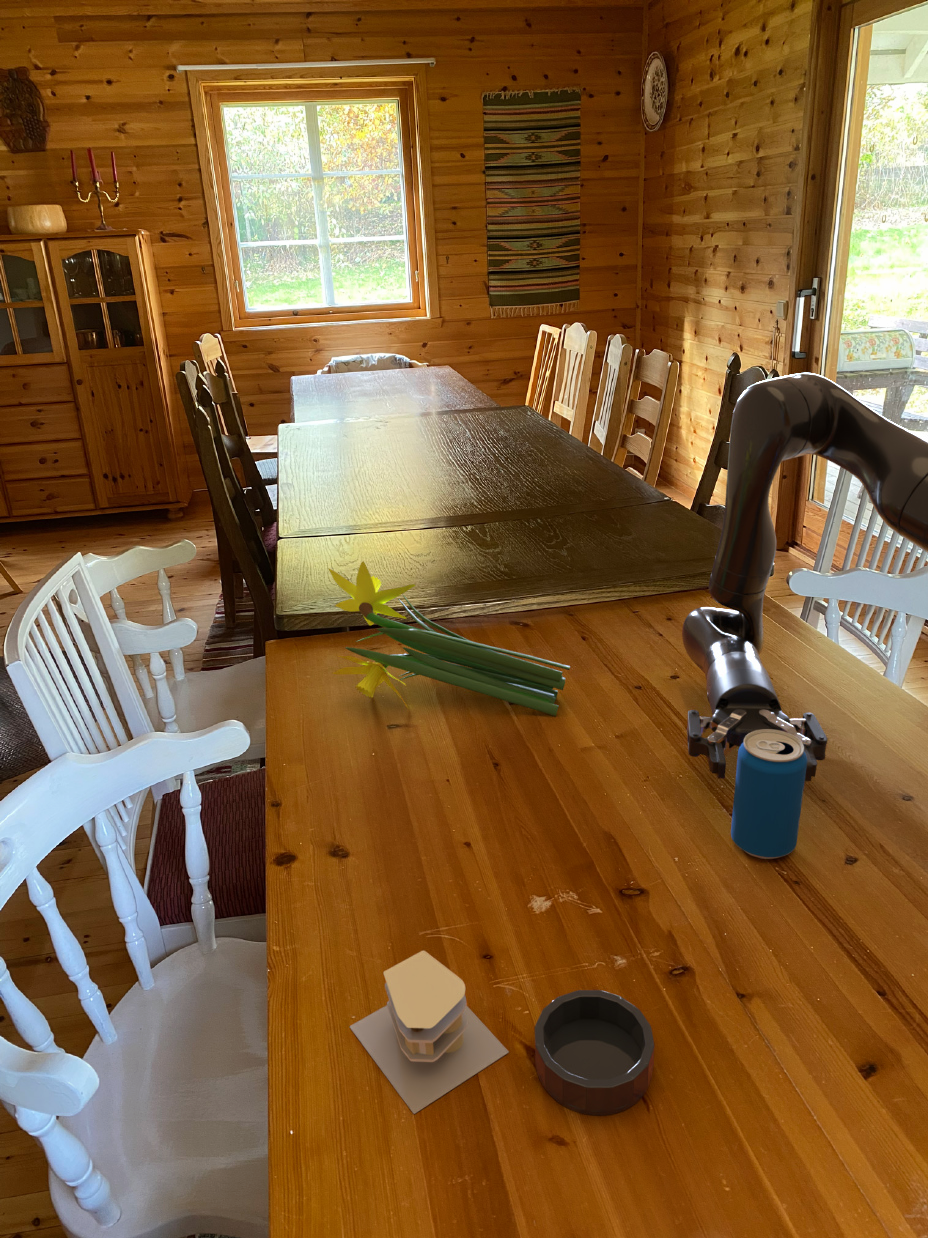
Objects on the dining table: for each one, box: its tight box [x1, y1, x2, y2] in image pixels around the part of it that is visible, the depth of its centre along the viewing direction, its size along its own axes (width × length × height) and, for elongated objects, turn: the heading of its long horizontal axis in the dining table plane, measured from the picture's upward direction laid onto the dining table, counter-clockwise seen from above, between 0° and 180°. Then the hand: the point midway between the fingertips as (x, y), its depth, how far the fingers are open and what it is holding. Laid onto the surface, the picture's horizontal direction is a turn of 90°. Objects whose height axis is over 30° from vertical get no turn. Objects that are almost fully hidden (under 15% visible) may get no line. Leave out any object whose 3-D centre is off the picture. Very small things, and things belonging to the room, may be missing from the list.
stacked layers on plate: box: [349, 950, 510, 1115], centre depth 73 cm, size 10×9×6 cm
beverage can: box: [730, 729, 807, 860], centre depth 92 cm, size 6×6×12 cm
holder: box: [534, 989, 656, 1117], centre depth 71 cm, size 9×9×3 cm
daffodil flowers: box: [327, 561, 571, 717], centre depth 122 cm, size 17×15×35 cm
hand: (765, 772), depth 94 cm, fingers open, 8 cm apart
